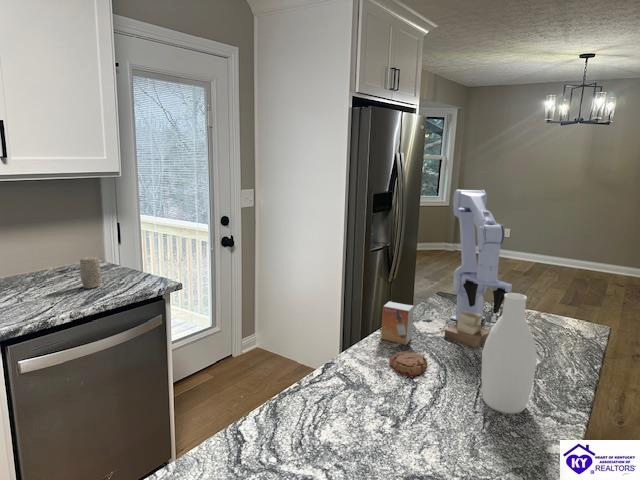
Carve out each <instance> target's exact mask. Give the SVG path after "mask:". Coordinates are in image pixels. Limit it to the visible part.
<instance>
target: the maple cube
mask: <svg viewBox="0 0 640 480" xmlns="http://www.w3.org/2000/svg"><path fill="white" fill-rule="evenodd" d="M481 318H482V315H480V314H477V313H473V312H469V311H465V312H462V313H460V314H458V321H457V323H456V324H457V330H458V331H461V332H465V333H468V334H471V335H473V334H475V333H477V332H479V331H480V330H481V328H482V320H481Z"/></svg>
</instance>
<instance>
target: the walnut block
mask: <svg viewBox="0 0 640 480" xmlns="http://www.w3.org/2000/svg"><path fill="white" fill-rule="evenodd" d="M490 331H491V329H487V328H484V327H481V330H480V331H479V332H477V333H475V334H473V335H471V334H468V333H465V332H461V331H458V330H457V323H456V324H454V325H452V326H450V327H448V328H445V329H444V338H445V339H447V340H451V341H452V342H453V341H454V342H457V343H460V344H462V345H466V346H469V347H472V348H474V349H475V348H477V347H479V346H481V345H482V344H485V342H486V339H487V337H488V335H489V333H490Z"/></svg>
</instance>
